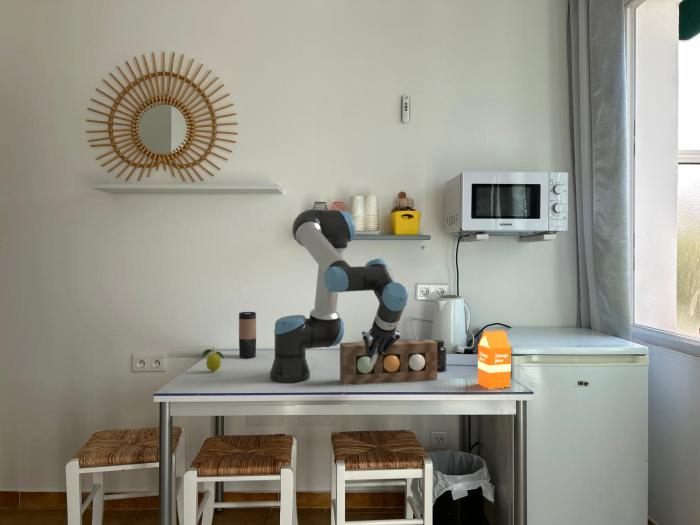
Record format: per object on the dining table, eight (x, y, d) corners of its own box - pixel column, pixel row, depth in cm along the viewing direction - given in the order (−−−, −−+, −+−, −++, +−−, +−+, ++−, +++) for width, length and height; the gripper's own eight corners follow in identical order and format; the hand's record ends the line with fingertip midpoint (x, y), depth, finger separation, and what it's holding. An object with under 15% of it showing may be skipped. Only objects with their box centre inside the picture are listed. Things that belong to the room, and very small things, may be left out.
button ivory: (409, 370, 191) (409, 354, 191) (407, 369, 194) (407, 353, 194) (425, 370, 192) (425, 354, 192) (422, 368, 195) (422, 352, 195)
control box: (343, 384, 186) (343, 346, 186) (339, 379, 193) (340, 342, 193) (437, 379, 194) (437, 342, 194) (430, 375, 201) (430, 339, 200)
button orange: (384, 372, 189) (384, 356, 189) (381, 370, 192) (381, 354, 192) (399, 371, 190) (399, 355, 190) (397, 369, 193) (397, 353, 193)
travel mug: (258, 355, 235) (258, 311, 234) (253, 359, 228) (253, 314, 227) (242, 354, 236) (241, 311, 235) (236, 358, 228) (236, 313, 228)
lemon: (201, 372, 203) (201, 347, 203) (212, 369, 208) (211, 345, 208) (214, 374, 200) (214, 349, 200) (224, 371, 205) (224, 346, 205)
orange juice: (510, 387, 184) (511, 332, 183) (488, 389, 181) (489, 333, 180) (498, 382, 191) (499, 328, 190) (477, 383, 188) (477, 329, 188)
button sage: (357, 373, 187) (357, 357, 186) (355, 371, 190) (355, 355, 189) (373, 372, 188) (373, 356, 188) (371, 370, 191) (371, 354, 191)
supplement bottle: (428, 367, 213) (428, 339, 212) (444, 368, 212) (445, 339, 212) (430, 372, 206) (430, 342, 205) (447, 372, 205) (447, 342, 205)
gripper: (368, 332, 158) (355, 371, 175) (408, 330, 161) (391, 369, 178) (364, 312, 163) (351, 352, 180) (403, 311, 166) (387, 351, 183)
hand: (371, 361), depth 179 cm, fingers closed
